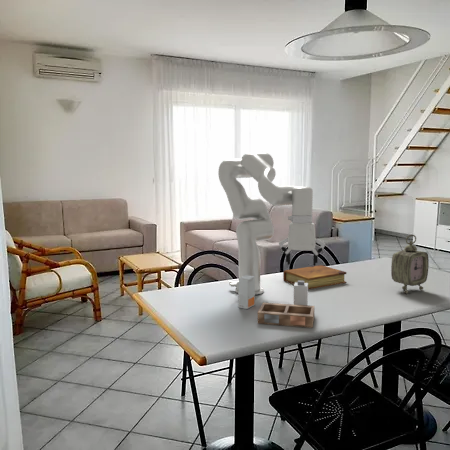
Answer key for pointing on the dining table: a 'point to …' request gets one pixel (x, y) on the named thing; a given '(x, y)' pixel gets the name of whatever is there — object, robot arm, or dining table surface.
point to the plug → (300, 293)
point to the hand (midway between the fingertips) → (301, 264)
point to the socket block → (286, 315)
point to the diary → (315, 276)
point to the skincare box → (246, 291)
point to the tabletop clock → (410, 266)
